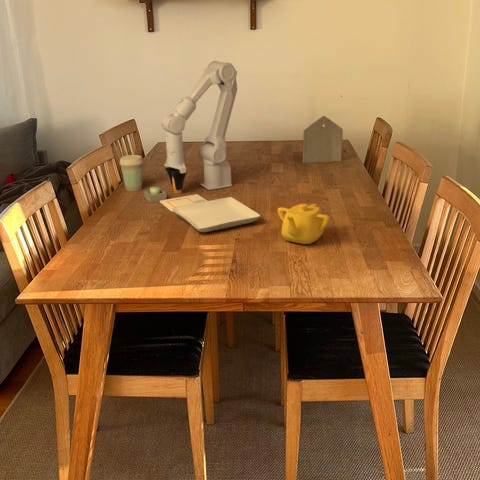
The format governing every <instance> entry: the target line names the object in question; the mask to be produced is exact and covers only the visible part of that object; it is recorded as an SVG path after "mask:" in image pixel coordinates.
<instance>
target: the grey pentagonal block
mask: <svg viewBox="0 0 480 480" xmlns="http://www.w3.org/2000/svg"><path fill="white" fill-rule="evenodd" d="M343 131H344V130H343V128H342V127H341V126H339V125H338V124H336V123H335V122H334V121H332V120H331V119H330V118H328V117H327V116H326V115H322V116H321V117H319V118H318V119H317V120H315V121H314V122H313V123H312V124H309V126H307V127H306V128H305V129H303V135H302V136H303V137H302V139H303V141H302V142H303V143H302V146H303V147H302V148H303V149H302V163H303V164H311V163H312V164H313V163H315V162H319V163H334V162H333V161H341V162H342V156H343V154H342V153H343V133H344V132H343Z"/></svg>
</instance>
